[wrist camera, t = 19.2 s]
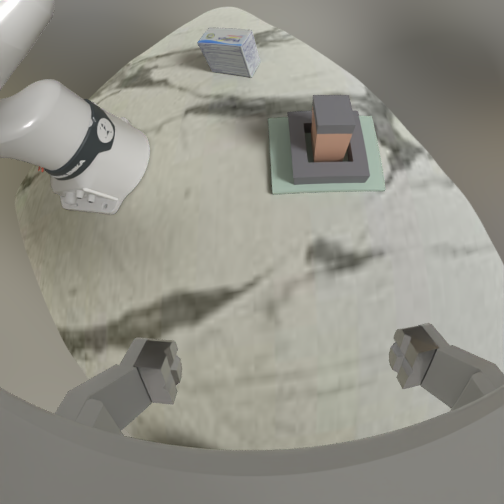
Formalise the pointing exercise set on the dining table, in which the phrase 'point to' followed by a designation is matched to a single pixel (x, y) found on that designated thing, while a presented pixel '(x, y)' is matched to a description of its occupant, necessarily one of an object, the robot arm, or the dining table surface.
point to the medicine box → (230, 51)
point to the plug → (331, 127)
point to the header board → (285, 160)
